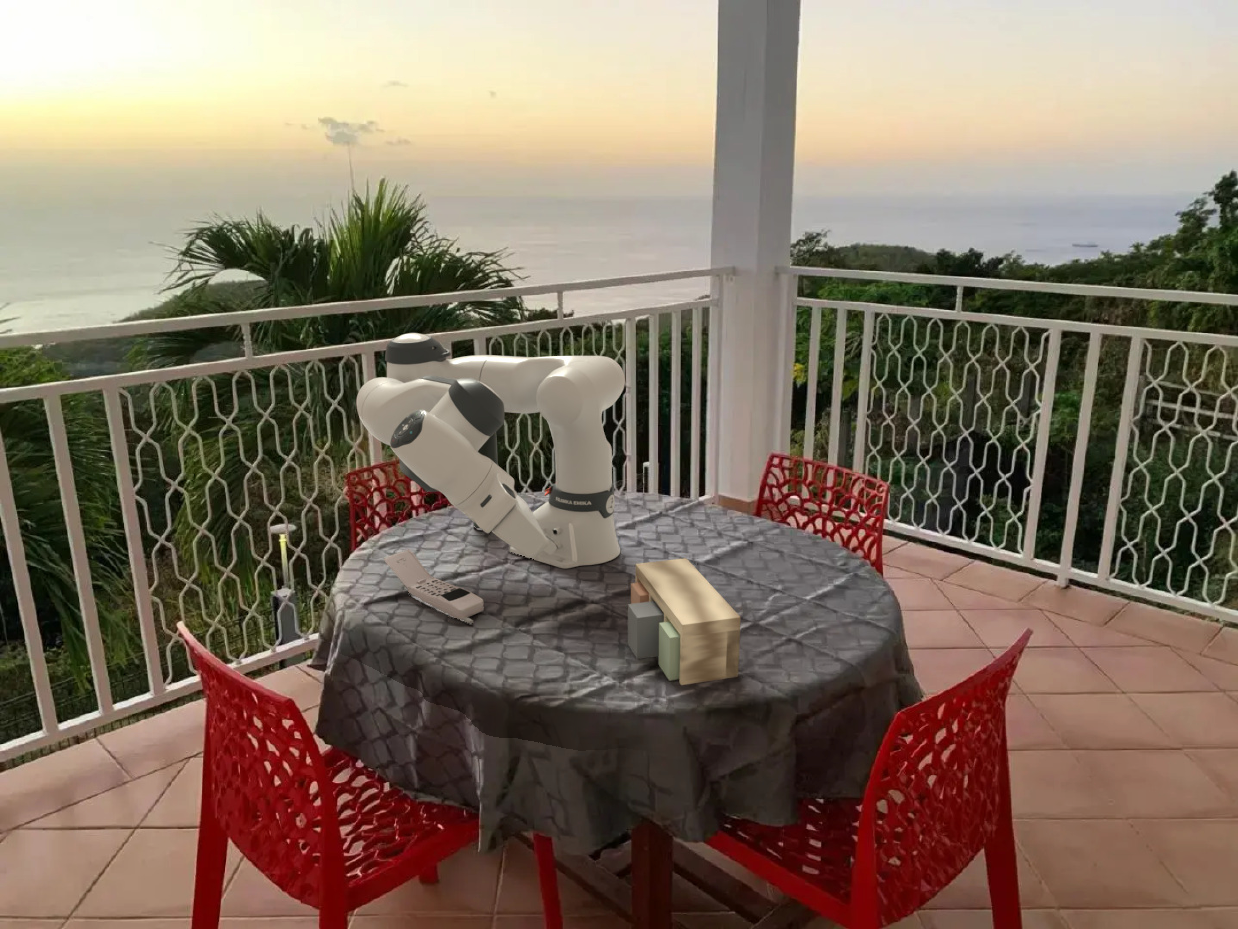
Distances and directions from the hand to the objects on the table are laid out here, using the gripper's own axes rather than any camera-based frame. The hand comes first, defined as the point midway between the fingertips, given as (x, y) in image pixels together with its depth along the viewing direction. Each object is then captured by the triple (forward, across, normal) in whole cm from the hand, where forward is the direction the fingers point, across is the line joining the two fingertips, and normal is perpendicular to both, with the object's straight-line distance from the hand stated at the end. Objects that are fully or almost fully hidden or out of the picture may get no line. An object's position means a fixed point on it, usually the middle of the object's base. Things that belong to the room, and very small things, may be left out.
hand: (552, 548), depth 141 cm
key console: (+25, +6, +2) cm, 26 cm away
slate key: (+22, +6, -1) cm, 23 cm away
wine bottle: (+8, -56, -14) cm, 58 cm away
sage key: (+24, +14, +1) cm, 28 cm away
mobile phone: (-1, -22, -24) cm, 32 cm away
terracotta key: (+24, -1, +1) cm, 24 cm away
